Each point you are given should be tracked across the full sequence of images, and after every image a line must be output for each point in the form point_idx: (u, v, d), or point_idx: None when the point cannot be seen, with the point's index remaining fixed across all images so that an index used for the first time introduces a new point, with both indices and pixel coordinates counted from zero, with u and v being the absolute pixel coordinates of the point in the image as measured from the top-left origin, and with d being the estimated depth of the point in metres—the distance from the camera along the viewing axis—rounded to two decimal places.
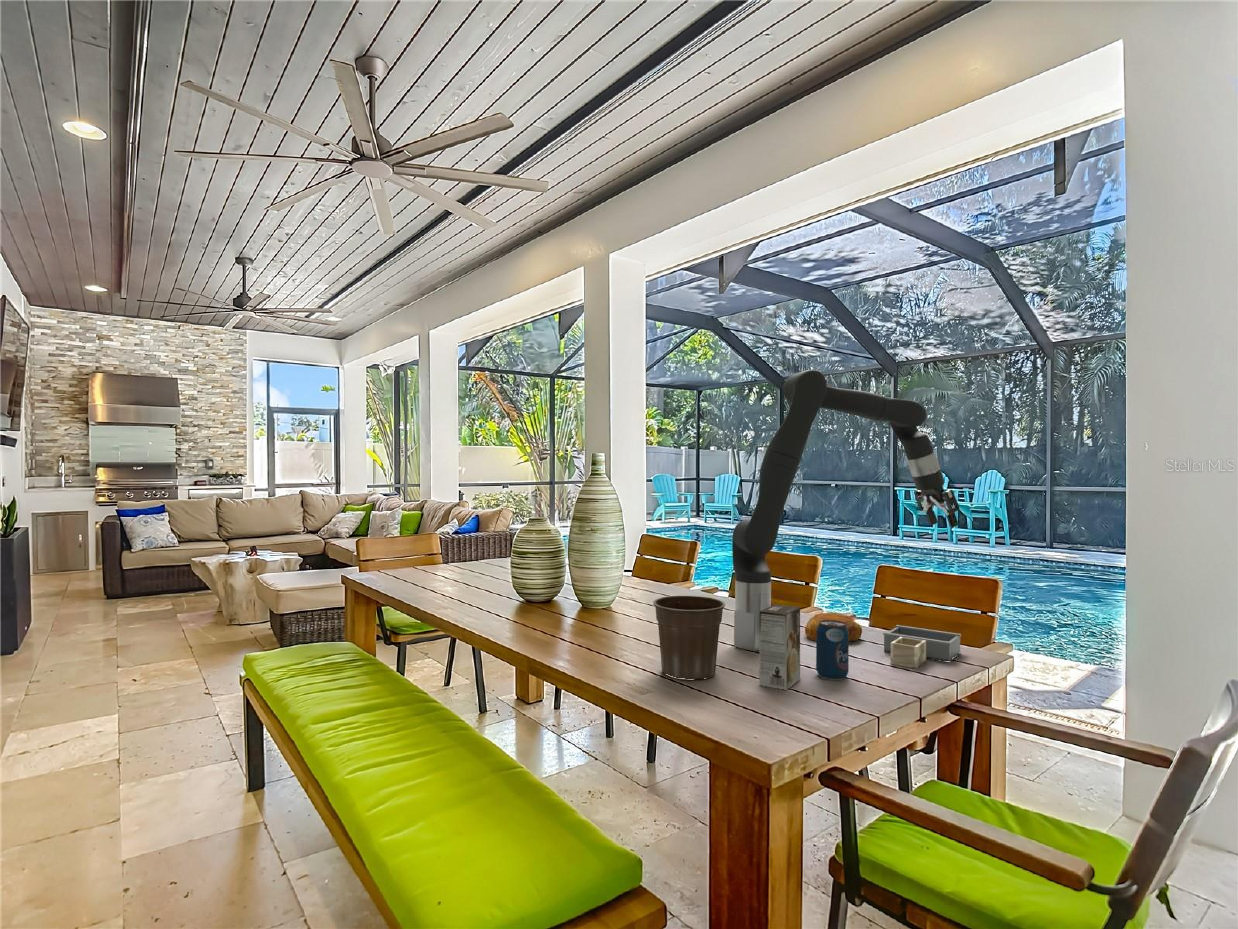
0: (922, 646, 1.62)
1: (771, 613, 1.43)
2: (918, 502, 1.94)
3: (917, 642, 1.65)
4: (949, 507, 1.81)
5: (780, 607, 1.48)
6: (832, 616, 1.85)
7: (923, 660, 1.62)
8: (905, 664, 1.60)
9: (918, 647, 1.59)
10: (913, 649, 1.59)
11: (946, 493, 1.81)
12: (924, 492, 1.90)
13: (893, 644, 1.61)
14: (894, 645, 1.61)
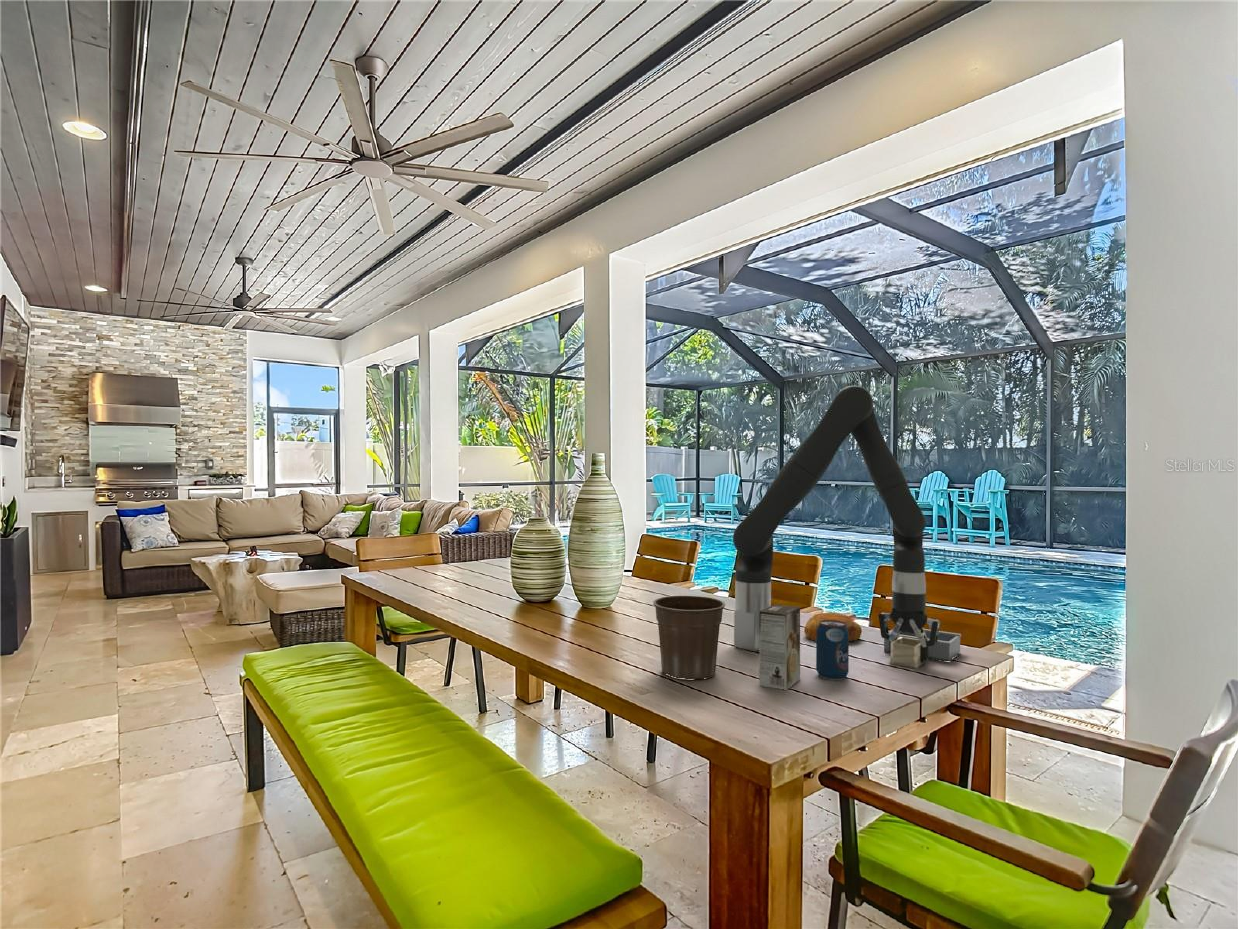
0: None
1: (771, 613, 1.43)
2: (883, 627, 1.66)
3: (917, 642, 1.65)
4: (932, 638, 1.59)
5: (780, 607, 1.48)
6: (831, 616, 1.85)
7: None
8: (905, 664, 1.60)
9: (918, 647, 1.59)
10: (913, 649, 1.59)
11: (937, 623, 1.58)
12: (897, 613, 1.64)
13: (893, 644, 1.61)
14: (894, 645, 1.61)
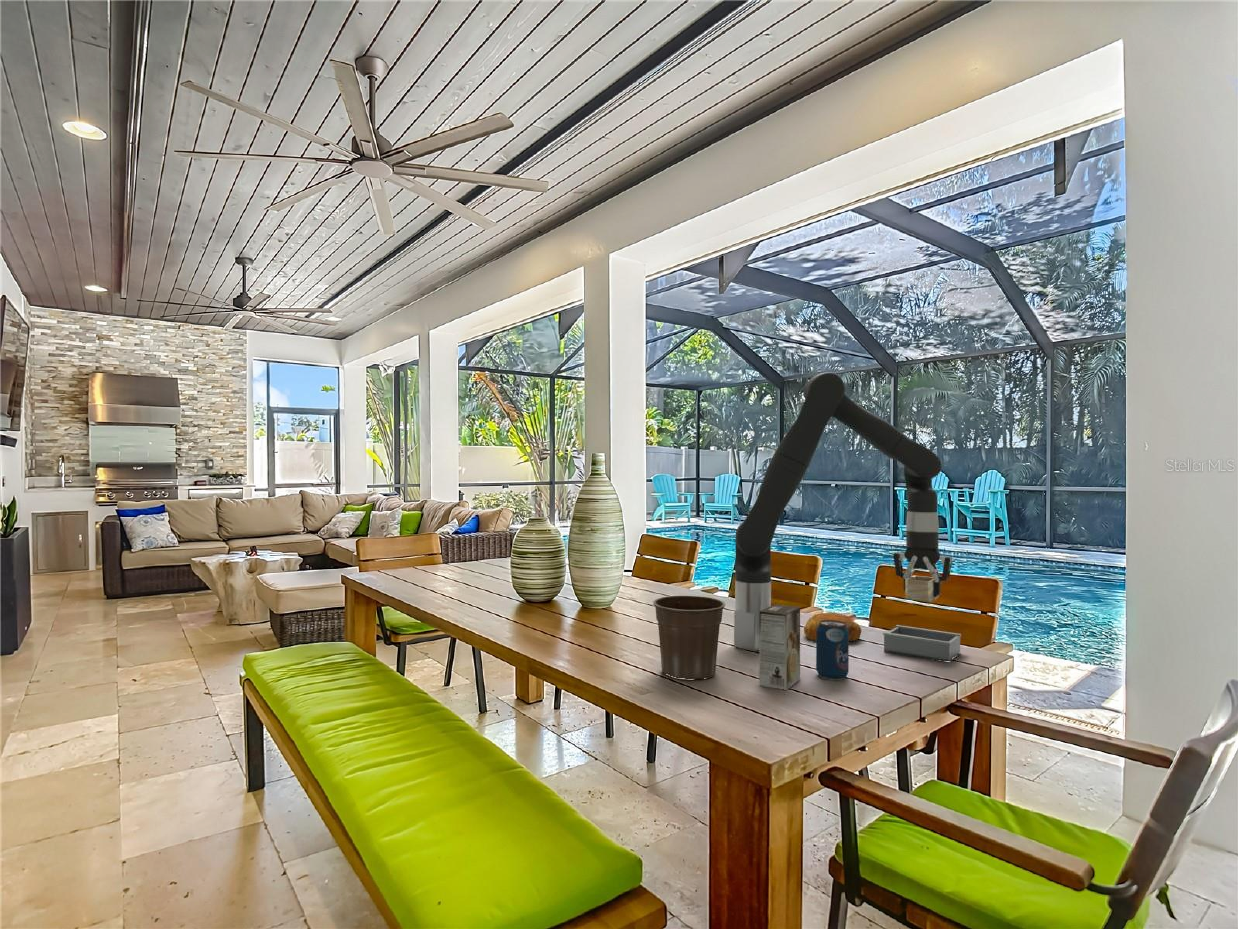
0: None
1: (771, 613, 1.43)
2: (897, 566, 1.75)
3: (930, 579, 1.75)
4: (945, 574, 1.68)
5: (780, 607, 1.48)
6: (831, 616, 1.85)
7: None
8: (919, 598, 1.69)
9: (931, 582, 1.69)
10: (927, 584, 1.68)
11: (950, 559, 1.68)
12: (911, 552, 1.73)
13: (907, 580, 1.71)
14: (908, 581, 1.71)
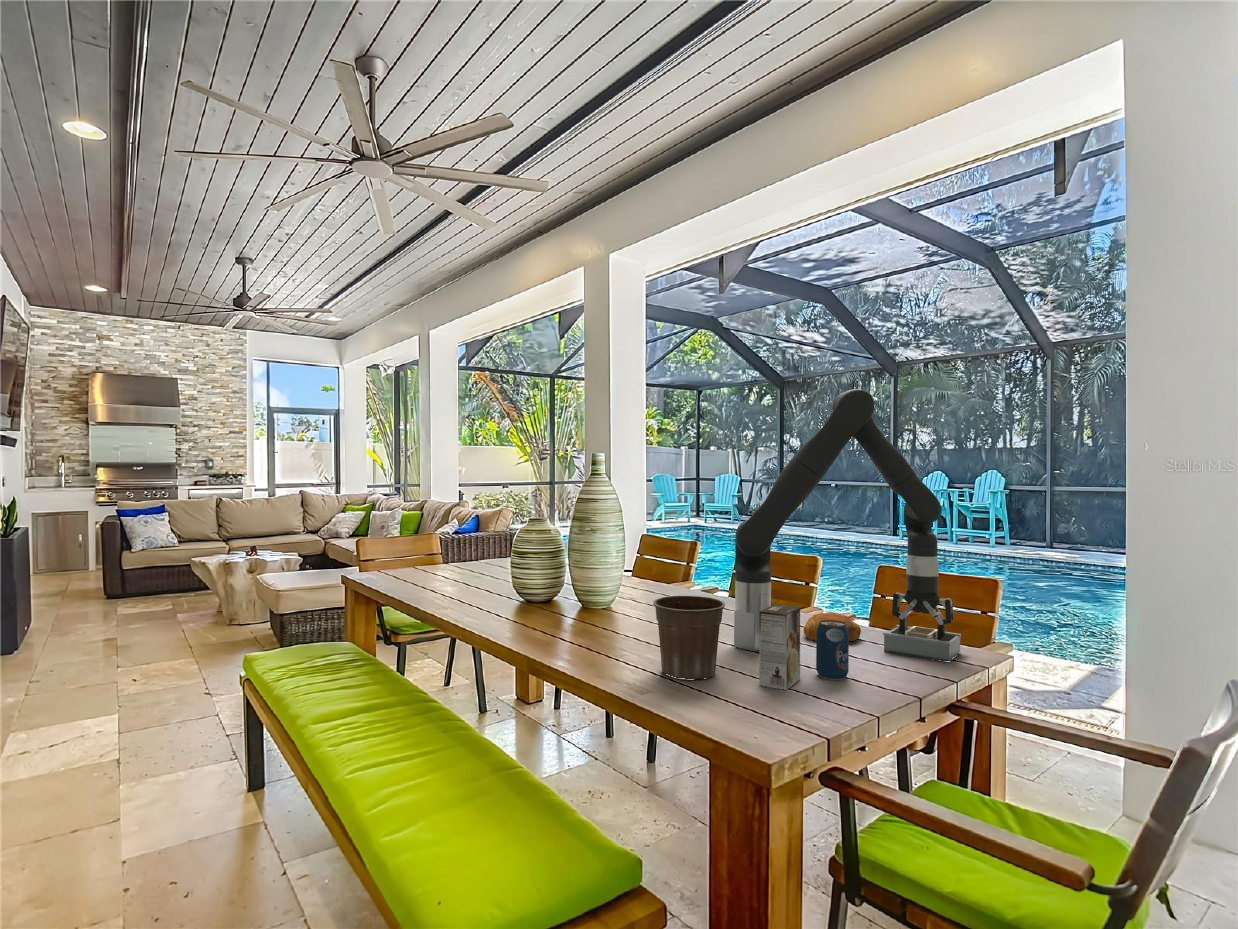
0: (935, 634, 1.71)
1: (771, 613, 1.43)
2: (895, 606, 1.76)
3: (930, 631, 1.74)
4: (948, 616, 1.68)
5: (780, 607, 1.48)
6: (831, 616, 1.85)
7: None
8: None
9: (931, 635, 1.68)
10: (926, 637, 1.68)
11: (949, 600, 1.68)
12: (912, 596, 1.73)
13: (907, 632, 1.71)
14: (908, 633, 1.71)
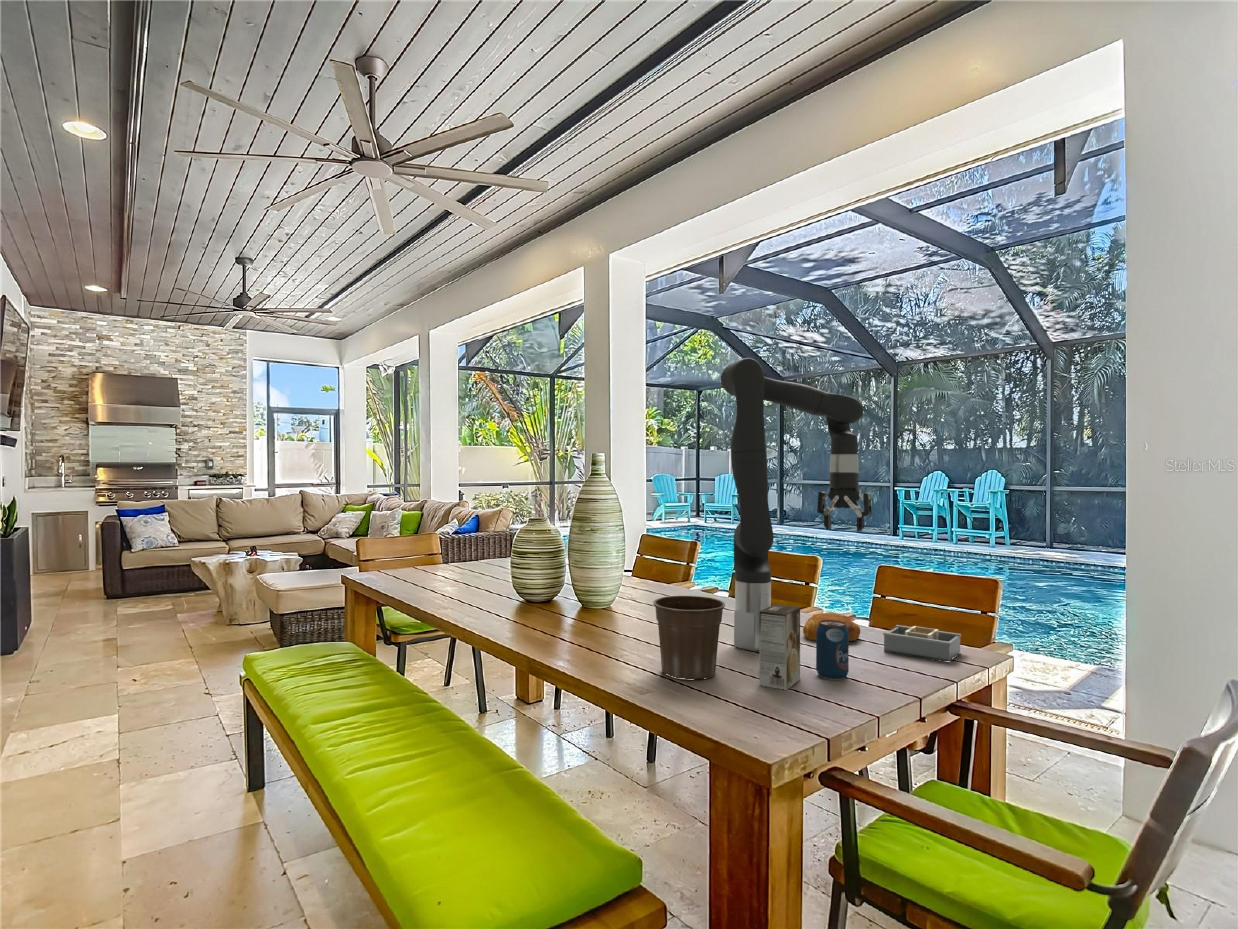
0: (935, 634, 1.71)
1: (771, 613, 1.43)
2: (820, 504, 1.88)
3: (930, 631, 1.74)
4: (866, 509, 1.80)
5: (780, 607, 1.48)
6: (830, 616, 1.85)
7: None
8: None
9: (931, 635, 1.68)
10: (926, 637, 1.68)
11: (867, 494, 1.80)
12: (834, 493, 1.85)
13: (907, 632, 1.71)
14: (908, 633, 1.71)
